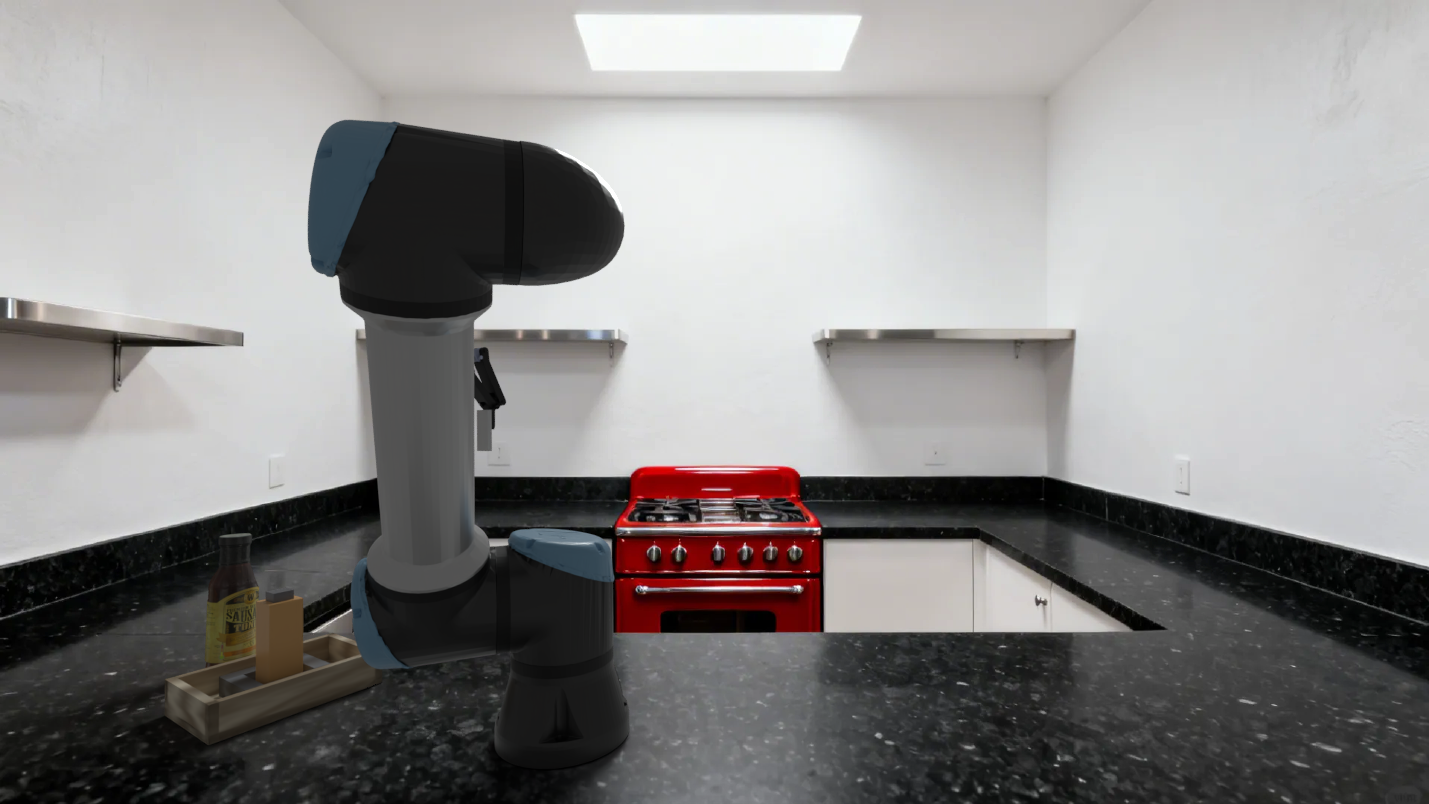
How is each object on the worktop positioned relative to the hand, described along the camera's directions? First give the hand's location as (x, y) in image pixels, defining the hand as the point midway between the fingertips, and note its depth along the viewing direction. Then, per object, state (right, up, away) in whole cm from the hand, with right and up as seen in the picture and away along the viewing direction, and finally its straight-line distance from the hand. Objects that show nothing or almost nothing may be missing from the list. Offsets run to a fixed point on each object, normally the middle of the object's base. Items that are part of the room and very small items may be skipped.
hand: (445, 453), depth 94 cm
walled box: (-18, -32, -10) cm, 38 cm away
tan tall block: (-18, -31, -10) cm, 37 cm away
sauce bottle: (-32, -33, 0) cm, 46 cm away
